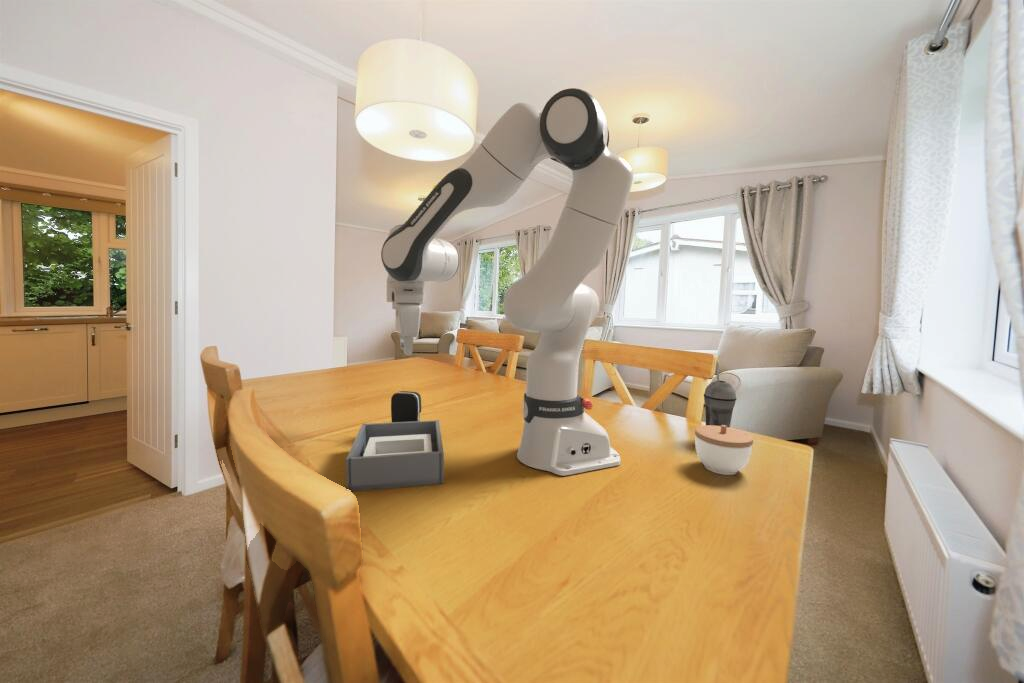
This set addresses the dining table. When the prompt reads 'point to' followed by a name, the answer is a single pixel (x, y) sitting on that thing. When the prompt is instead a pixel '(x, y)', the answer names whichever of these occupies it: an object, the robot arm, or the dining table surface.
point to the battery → (405, 406)
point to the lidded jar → (723, 448)
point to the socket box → (396, 456)
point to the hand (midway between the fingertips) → (406, 352)
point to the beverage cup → (719, 402)
